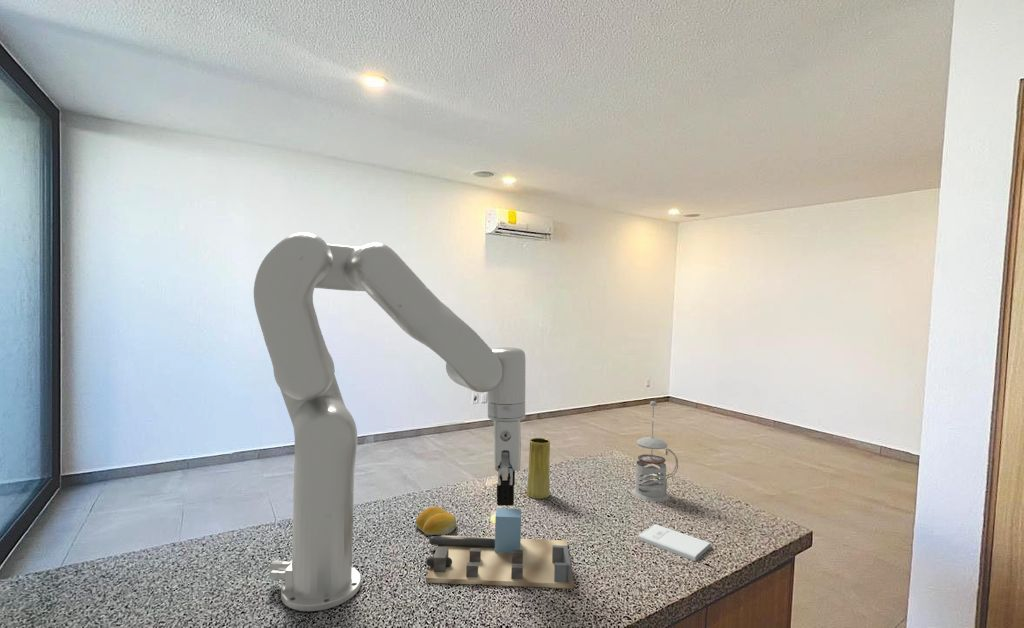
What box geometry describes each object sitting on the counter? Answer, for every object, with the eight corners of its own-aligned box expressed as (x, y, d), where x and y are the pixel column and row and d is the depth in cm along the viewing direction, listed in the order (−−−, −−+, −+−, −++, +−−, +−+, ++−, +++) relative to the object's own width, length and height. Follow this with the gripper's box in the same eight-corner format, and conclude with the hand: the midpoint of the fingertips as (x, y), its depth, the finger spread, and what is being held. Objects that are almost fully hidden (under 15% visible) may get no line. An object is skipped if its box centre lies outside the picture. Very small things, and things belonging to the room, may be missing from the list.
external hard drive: (695, 564, 96) (637, 542, 104) (710, 550, 102) (655, 529, 110) (695, 556, 95) (637, 534, 104) (711, 542, 101) (655, 522, 110)
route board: (421, 582, 85) (421, 563, 85) (437, 539, 101) (437, 522, 101) (573, 588, 85) (574, 569, 85) (565, 544, 101) (566, 527, 101)
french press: (629, 486, 135) (632, 396, 135) (672, 489, 134) (675, 399, 133) (633, 500, 126) (636, 403, 125) (680, 503, 124) (683, 406, 124)
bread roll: (431, 541, 101) (432, 522, 101) (410, 526, 108) (411, 508, 108) (464, 530, 106) (465, 512, 106) (442, 516, 113) (442, 499, 113)
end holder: (554, 581, 85) (554, 564, 85) (552, 560, 92) (552, 545, 92) (570, 582, 85) (570, 565, 85) (566, 561, 92) (567, 545, 92)
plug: (427, 549, 95) (428, 513, 95) (430, 539, 99) (431, 505, 99) (520, 553, 95) (521, 517, 95) (520, 543, 99) (521, 509, 99)
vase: (550, 499, 124) (552, 443, 124) (526, 498, 124) (528, 443, 124) (549, 490, 130) (550, 437, 130) (526, 489, 131) (527, 436, 130)
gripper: (525, 420, 88) (525, 513, 89) (525, 401, 105) (524, 479, 106) (484, 420, 88) (484, 513, 89) (490, 400, 106) (490, 478, 106)
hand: (506, 494), depth 97 cm, fingers open, 9 cm apart
